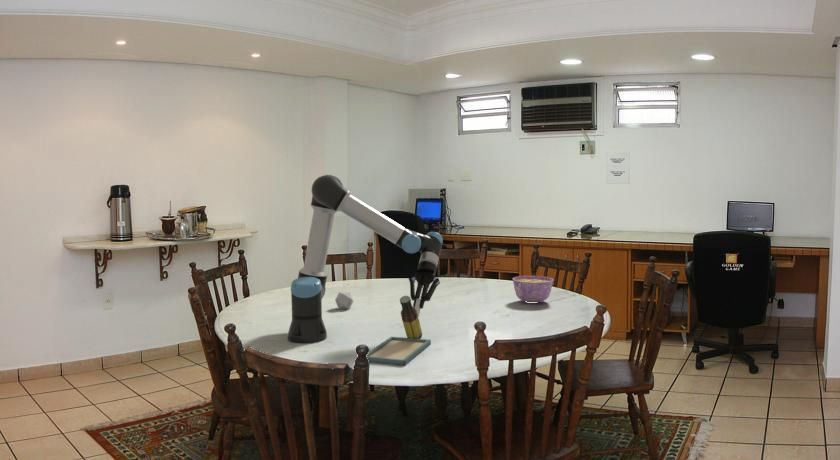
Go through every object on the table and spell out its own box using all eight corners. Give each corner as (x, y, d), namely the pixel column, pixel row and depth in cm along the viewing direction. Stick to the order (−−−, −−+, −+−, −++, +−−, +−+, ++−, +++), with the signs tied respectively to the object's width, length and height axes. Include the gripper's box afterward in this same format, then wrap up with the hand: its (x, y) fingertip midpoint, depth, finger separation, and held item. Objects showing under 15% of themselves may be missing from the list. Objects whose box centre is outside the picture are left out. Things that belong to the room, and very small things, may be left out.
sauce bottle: (422, 329, 253) (414, 291, 242) (423, 341, 248) (414, 303, 236) (406, 331, 254) (397, 294, 242) (406, 343, 249) (397, 305, 237)
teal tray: (391, 341, 250) (391, 336, 250) (430, 344, 245) (430, 339, 245) (361, 361, 224) (361, 356, 224) (404, 365, 219) (404, 360, 218)
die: (345, 312, 303) (356, 295, 305) (330, 303, 304) (341, 286, 306) (347, 315, 311) (358, 298, 313) (332, 306, 312) (343, 289, 314)
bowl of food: (508, 304, 314) (508, 281, 313) (516, 297, 333) (516, 274, 332) (550, 307, 308) (550, 283, 307) (555, 299, 326) (555, 276, 325)
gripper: (445, 271, 263) (434, 320, 249) (414, 270, 267) (402, 319, 253) (441, 260, 258) (430, 310, 244) (410, 259, 262) (397, 308, 248)
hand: (416, 314), depth 248 cm, fingers closed
